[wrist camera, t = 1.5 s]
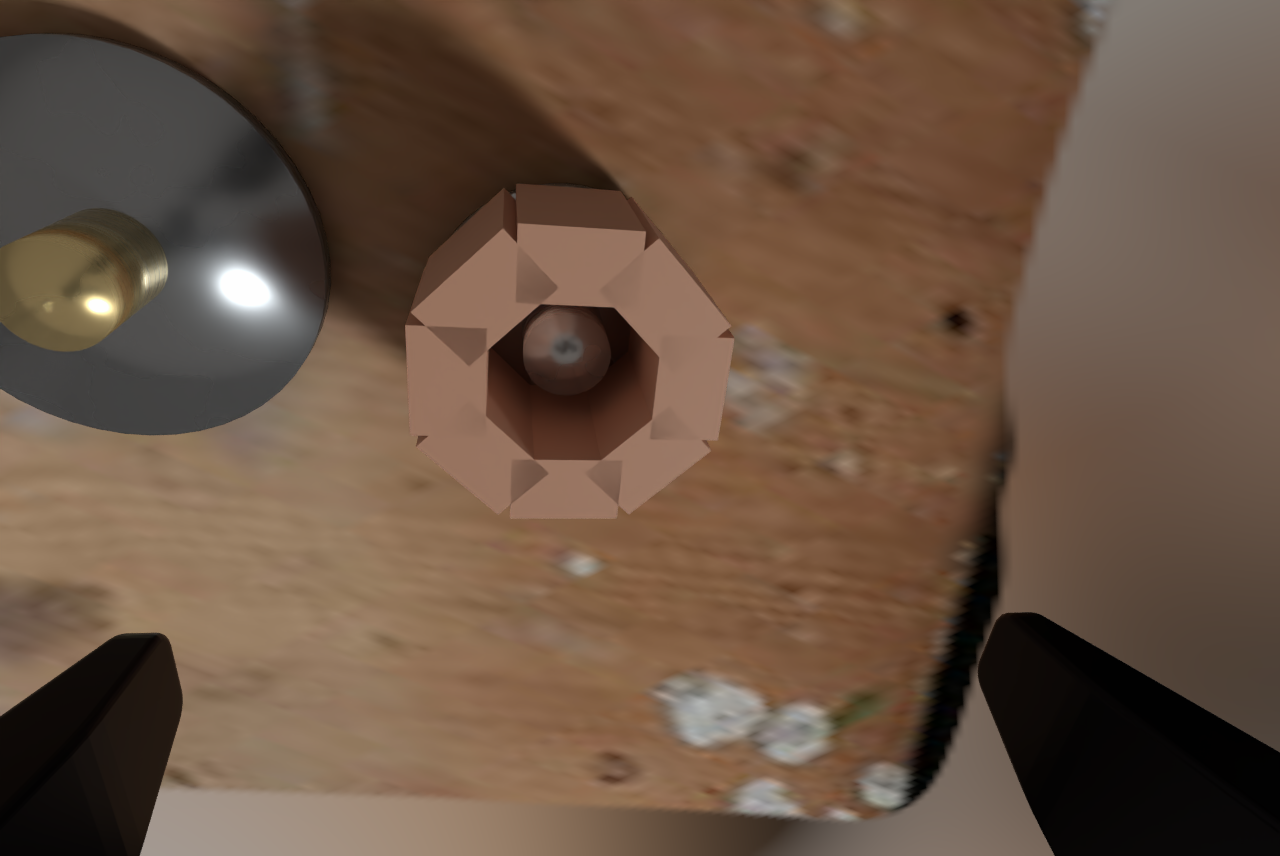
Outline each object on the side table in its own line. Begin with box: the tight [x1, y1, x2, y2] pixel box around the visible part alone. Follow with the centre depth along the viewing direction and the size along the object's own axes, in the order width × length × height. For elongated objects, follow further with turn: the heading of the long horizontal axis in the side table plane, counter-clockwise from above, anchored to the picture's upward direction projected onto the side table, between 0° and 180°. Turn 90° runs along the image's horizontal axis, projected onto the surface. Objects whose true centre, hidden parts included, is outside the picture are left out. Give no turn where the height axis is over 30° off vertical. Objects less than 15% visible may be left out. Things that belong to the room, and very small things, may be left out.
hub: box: [0, 33, 331, 435], centre depth 15 cm, size 8×8×3 cm
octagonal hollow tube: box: [405, 183, 735, 519], centre depth 16 cm, size 6×6×4 cm
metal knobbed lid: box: [452, 183, 661, 396], centre depth 17 cm, size 6×6×2 cm
